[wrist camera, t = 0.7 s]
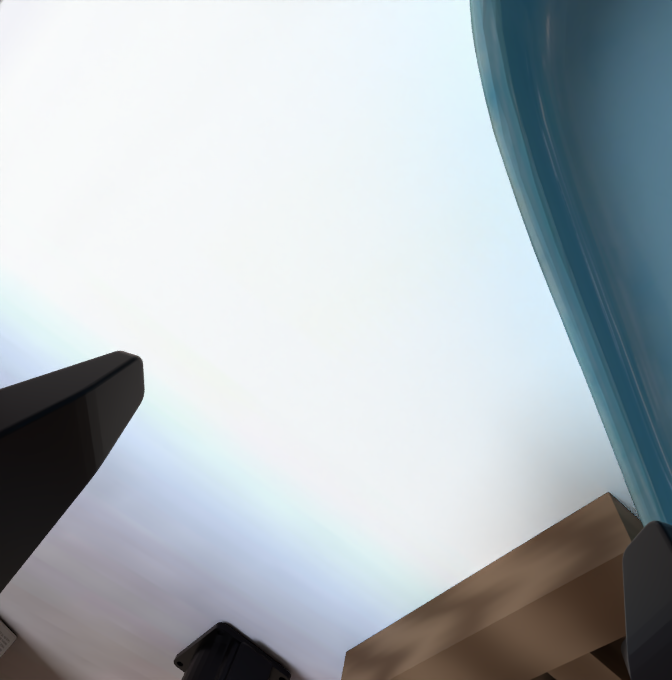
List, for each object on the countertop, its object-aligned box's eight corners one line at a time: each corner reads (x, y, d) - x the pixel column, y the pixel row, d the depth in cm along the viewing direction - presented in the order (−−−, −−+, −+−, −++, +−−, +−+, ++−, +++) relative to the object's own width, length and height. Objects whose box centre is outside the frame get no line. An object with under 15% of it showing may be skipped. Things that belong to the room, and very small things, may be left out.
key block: (477, 753, 33) (480, 818, 30) (346, 652, 32) (335, 708, 29) (768, 635, 25) (816, 708, 22) (608, 491, 24) (634, 546, 20)
